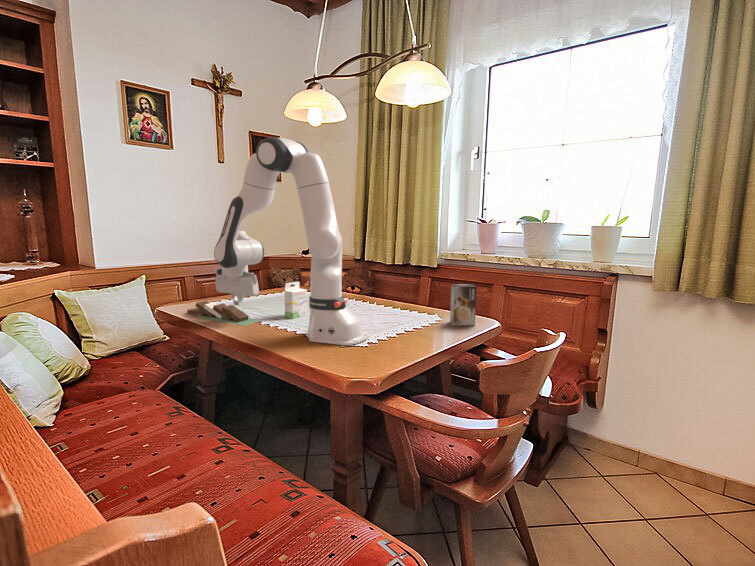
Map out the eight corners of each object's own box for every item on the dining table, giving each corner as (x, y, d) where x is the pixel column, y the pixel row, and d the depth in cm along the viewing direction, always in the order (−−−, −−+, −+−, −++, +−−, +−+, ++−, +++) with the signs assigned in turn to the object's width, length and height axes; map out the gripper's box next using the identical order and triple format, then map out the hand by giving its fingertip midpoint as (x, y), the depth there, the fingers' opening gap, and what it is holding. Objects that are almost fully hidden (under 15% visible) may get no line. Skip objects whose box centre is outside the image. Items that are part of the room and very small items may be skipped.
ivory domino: (230, 312, 167) (214, 302, 170) (221, 315, 162) (204, 304, 166) (230, 316, 167) (213, 305, 171) (220, 319, 163) (204, 308, 166)
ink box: (292, 319, 165) (291, 284, 163) (284, 317, 168) (283, 283, 165) (307, 316, 172) (307, 282, 169) (300, 314, 175) (299, 281, 172)
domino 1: (213, 309, 171) (197, 307, 176) (203, 311, 167) (187, 310, 171) (213, 313, 171) (197, 311, 176) (203, 316, 167) (187, 314, 172)
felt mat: (262, 320, 163) (262, 320, 163) (244, 326, 154) (243, 325, 154) (215, 312, 175) (215, 312, 175) (195, 317, 166) (195, 316, 166)
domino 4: (248, 315, 162) (231, 304, 166) (239, 318, 158) (222, 306, 161) (247, 319, 163) (230, 308, 166) (238, 322, 158) (221, 310, 162)
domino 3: (239, 314, 164) (223, 303, 168) (230, 316, 160) (213, 305, 164) (238, 318, 165) (222, 307, 169) (229, 320, 161) (212, 309, 164)
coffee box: (471, 321, 167) (473, 283, 164) (475, 325, 160) (477, 286, 158) (449, 321, 166) (451, 283, 164) (452, 325, 160) (454, 286, 157)
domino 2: (221, 311, 169) (206, 300, 172) (212, 313, 165) (196, 302, 168) (220, 315, 169) (205, 304, 173) (211, 317, 165) (195, 306, 169)
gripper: (262, 272, 157) (263, 306, 159) (224, 268, 166) (225, 300, 168) (250, 273, 151) (251, 309, 153) (212, 270, 160) (213, 303, 162)
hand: (237, 304), depth 161 cm, fingers closed
